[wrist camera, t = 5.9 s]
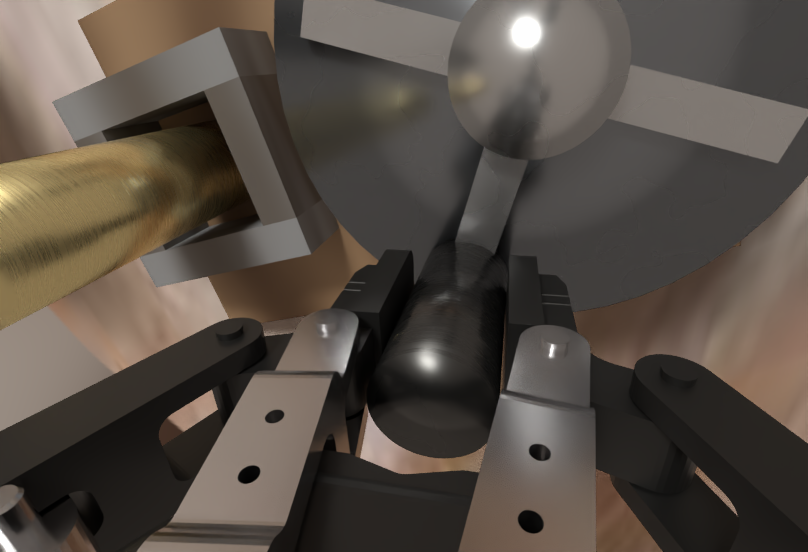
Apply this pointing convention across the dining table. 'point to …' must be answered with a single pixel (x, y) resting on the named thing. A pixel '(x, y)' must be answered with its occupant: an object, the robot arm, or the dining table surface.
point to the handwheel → (535, 160)
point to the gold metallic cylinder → (106, 209)
